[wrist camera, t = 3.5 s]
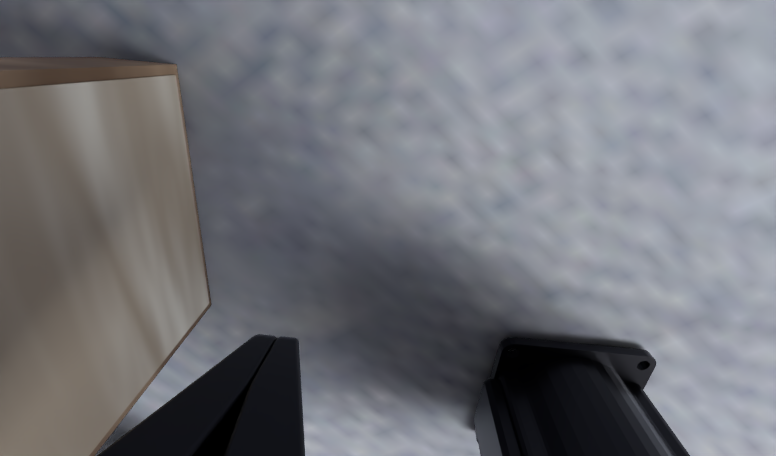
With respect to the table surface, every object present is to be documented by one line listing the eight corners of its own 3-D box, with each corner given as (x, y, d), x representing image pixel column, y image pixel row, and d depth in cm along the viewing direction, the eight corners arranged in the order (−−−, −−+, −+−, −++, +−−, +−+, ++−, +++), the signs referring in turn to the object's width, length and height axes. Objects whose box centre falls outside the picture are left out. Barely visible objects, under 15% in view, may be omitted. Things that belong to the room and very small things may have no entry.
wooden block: (179, 64, 12) (-318, 82, 4) (213, 304, 16) (12, 566, 8) (97, 56, 12) (-581, 58, 4) (152, 298, 16) (-115, 555, 8)
